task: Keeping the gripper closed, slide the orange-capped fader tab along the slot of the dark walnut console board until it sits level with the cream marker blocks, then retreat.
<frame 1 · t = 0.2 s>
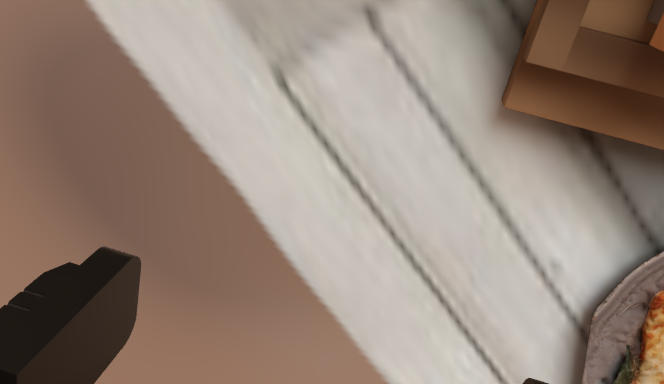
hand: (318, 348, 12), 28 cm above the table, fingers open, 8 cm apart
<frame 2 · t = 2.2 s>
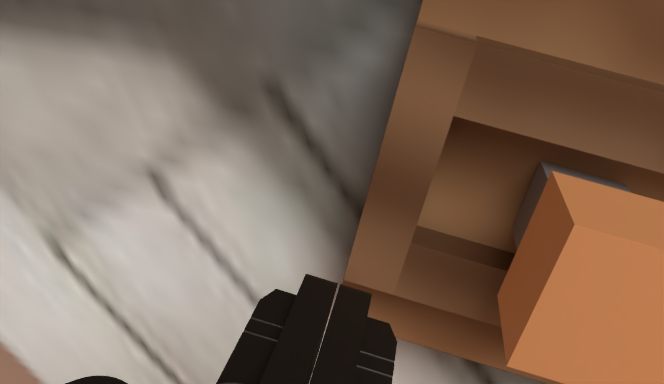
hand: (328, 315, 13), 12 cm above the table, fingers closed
fader: (587, 255, 18), point 6 cm above the table, slide at -7.0 cm
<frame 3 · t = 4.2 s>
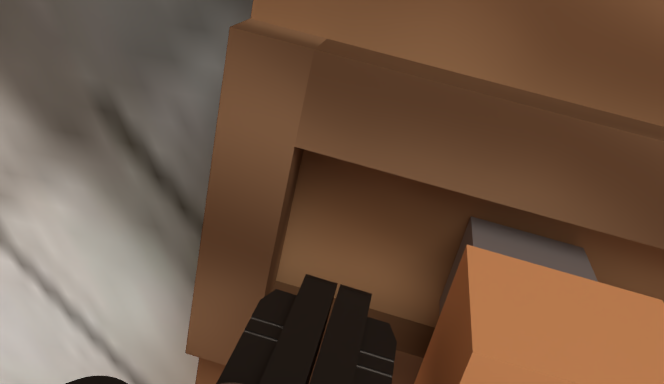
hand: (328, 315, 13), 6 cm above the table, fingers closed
fader: (522, 357, 13), point 6 cm above the table, slide at -5.7 cm, touching gripper
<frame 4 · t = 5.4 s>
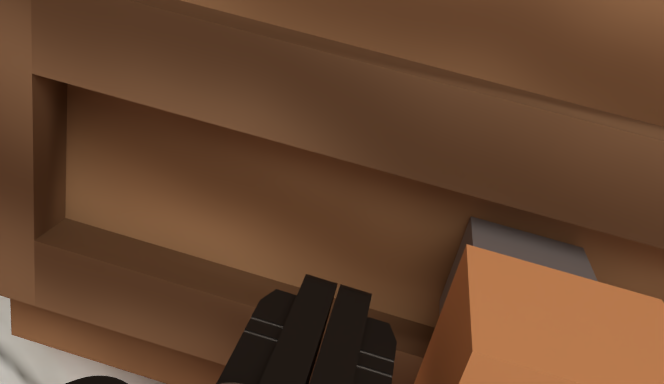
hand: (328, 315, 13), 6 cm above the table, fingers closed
console: (463, 226, 18), on the table
fader: (522, 356, 13), point 6 cm above the table, slide at 1.2 cm, touching gripper
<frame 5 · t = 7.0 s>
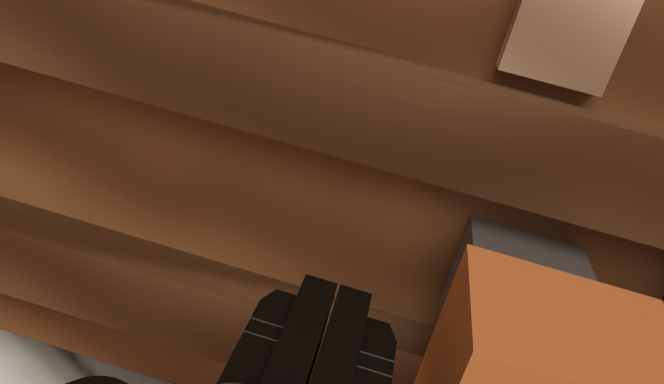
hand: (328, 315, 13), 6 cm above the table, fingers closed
console: (255, 166, 18), on the table
fader: (522, 356, 13), point 6 cm above the table, slide at 8.0 cm, touching gripper
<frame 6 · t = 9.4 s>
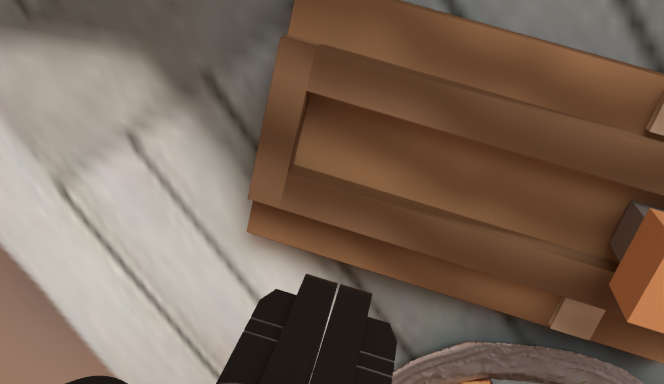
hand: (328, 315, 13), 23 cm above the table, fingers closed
console: (499, 173, 35), on the table
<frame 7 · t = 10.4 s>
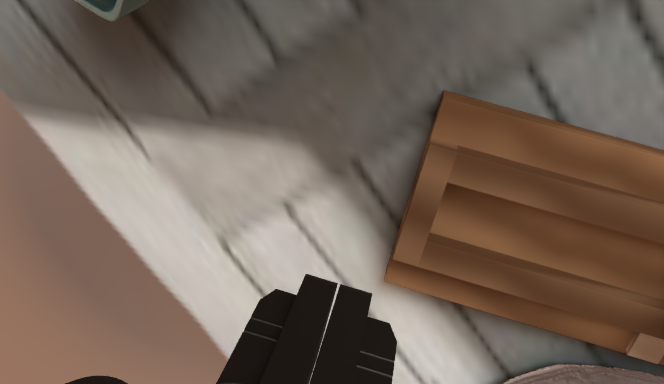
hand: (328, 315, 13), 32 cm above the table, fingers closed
console: (587, 236, 44), on the table
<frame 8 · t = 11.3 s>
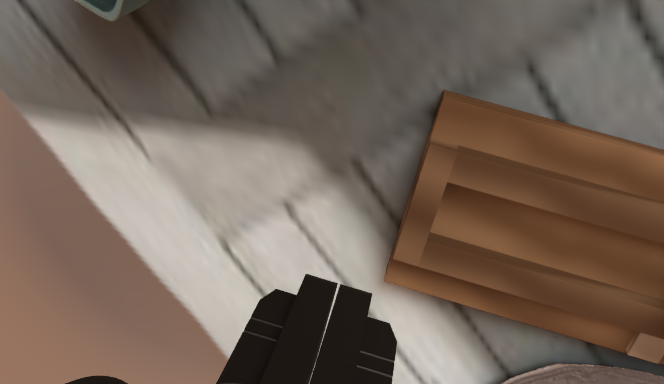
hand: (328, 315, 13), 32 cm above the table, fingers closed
console: (587, 236, 44), on the table
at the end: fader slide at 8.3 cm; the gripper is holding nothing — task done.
